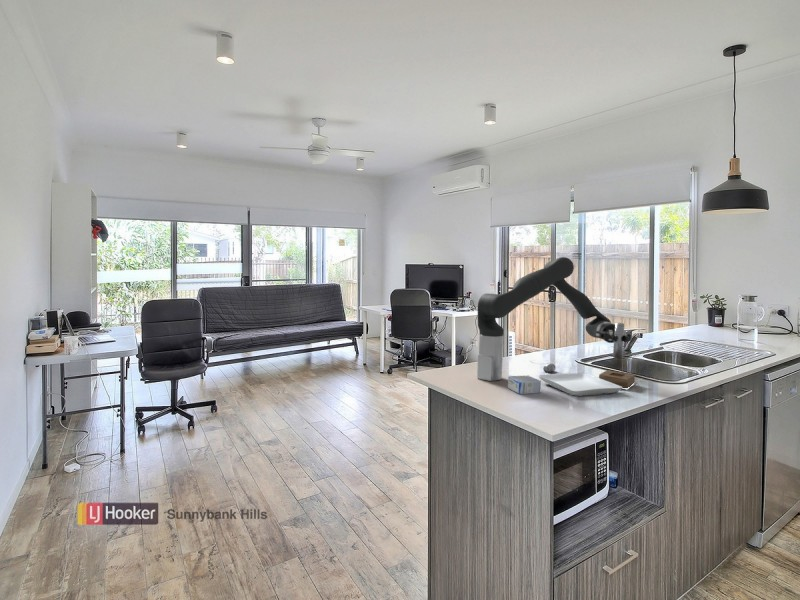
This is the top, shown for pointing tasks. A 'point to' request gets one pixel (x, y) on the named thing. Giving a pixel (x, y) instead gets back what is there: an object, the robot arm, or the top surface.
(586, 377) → the salad plate
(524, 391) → the medicine box
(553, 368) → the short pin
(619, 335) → the tall pin
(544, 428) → the top surface
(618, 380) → the hole block
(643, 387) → the top surface
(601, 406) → the top surface
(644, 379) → the top surface
